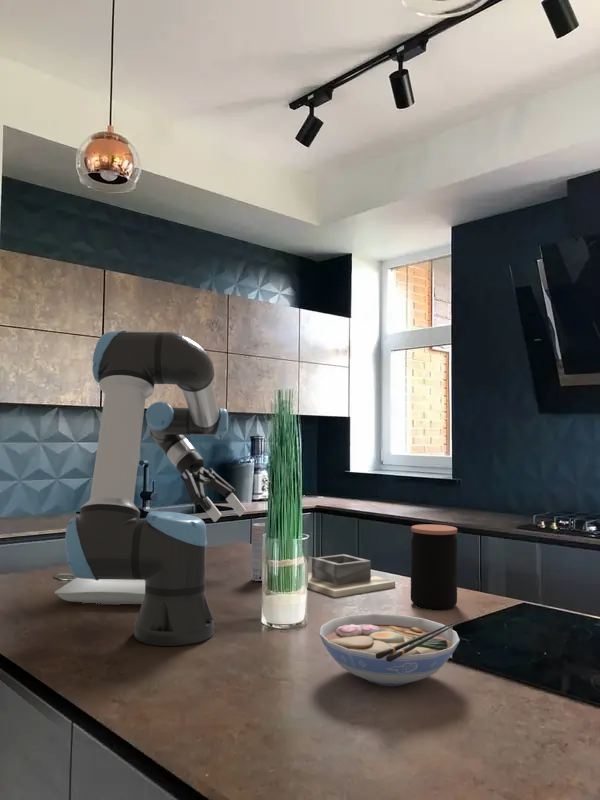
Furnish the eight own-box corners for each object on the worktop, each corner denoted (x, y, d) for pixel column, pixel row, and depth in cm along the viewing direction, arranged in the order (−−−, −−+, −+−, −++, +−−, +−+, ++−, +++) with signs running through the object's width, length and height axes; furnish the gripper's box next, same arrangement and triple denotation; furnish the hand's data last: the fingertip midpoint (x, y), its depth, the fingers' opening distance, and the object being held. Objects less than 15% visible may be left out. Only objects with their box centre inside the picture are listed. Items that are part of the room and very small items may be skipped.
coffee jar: (454, 600, 160) (454, 525, 161) (460, 612, 149) (460, 531, 150) (409, 598, 161) (409, 523, 162) (412, 610, 150) (412, 530, 151)
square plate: (173, 611, 148) (173, 593, 148) (51, 608, 149) (52, 590, 149) (195, 583, 175) (195, 568, 175) (91, 581, 176) (92, 566, 176)
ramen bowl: (371, 645, 125) (371, 601, 126) (486, 674, 111) (486, 624, 111) (284, 682, 106) (285, 630, 107) (410, 723, 92) (411, 663, 92)
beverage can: (269, 583, 175) (270, 525, 176) (248, 581, 176) (249, 524, 177) (274, 578, 181) (275, 523, 181) (254, 577, 182) (255, 522, 182)
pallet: (395, 587, 173) (395, 561, 173) (335, 597, 161) (335, 570, 161) (345, 573, 189) (346, 550, 189) (287, 581, 177) (288, 556, 178)
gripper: (201, 466, 203) (244, 519, 196) (151, 470, 180) (197, 530, 173) (217, 449, 201) (260, 502, 194) (168, 451, 178) (215, 511, 171)
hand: (231, 515), depth 184 cm, fingers open, 13 cm apart
